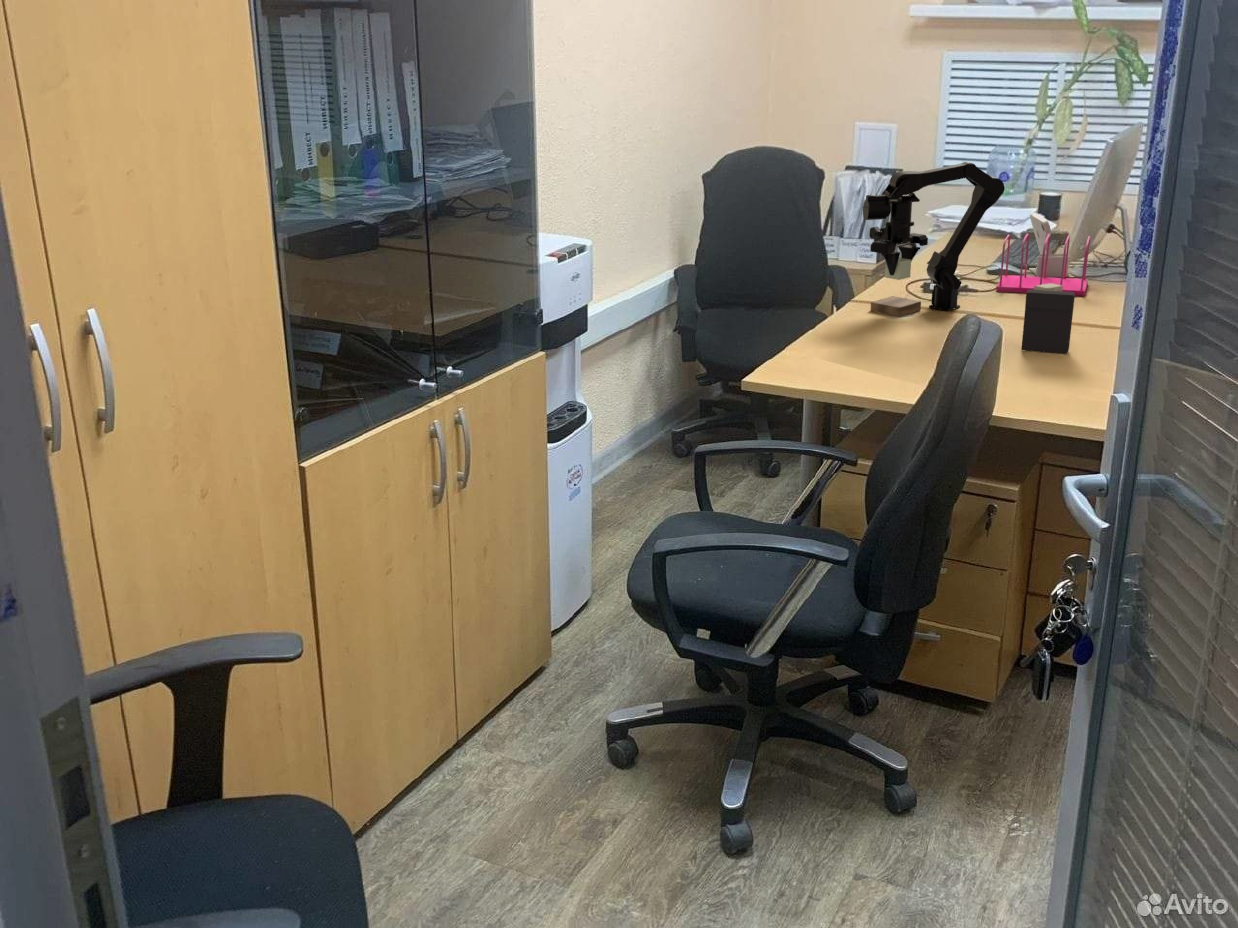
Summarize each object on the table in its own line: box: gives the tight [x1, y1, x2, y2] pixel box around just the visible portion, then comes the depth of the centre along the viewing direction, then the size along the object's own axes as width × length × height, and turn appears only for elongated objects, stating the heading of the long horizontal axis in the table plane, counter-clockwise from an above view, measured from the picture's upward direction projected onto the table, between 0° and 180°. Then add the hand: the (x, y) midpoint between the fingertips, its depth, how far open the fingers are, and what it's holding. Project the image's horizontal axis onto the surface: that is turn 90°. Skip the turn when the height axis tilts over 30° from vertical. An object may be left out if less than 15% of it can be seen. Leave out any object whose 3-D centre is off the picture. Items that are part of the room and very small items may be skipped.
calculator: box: [1021, 290, 1076, 355], centre depth 284 cm, size 11×4×15 cm, turn 65°
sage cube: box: [884, 257, 912, 281], centre depth 326 cm, size 5×5×5 cm
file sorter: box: [995, 233, 1091, 297], centre depth 348 cm, size 17×25×16 cm
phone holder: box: [1028, 212, 1071, 278], centre depth 369 cm, size 17×10×18 cm, turn 176°
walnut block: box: [870, 295, 922, 317], centre depth 330 cm, size 10×10×3 cm
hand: (897, 273), depth 327 cm, fingers closed on sage cube, 5 cm apart
